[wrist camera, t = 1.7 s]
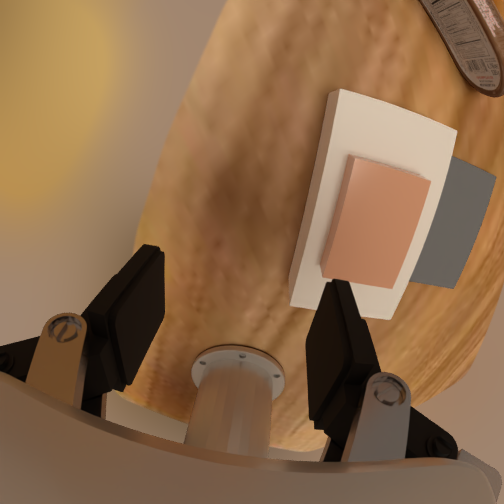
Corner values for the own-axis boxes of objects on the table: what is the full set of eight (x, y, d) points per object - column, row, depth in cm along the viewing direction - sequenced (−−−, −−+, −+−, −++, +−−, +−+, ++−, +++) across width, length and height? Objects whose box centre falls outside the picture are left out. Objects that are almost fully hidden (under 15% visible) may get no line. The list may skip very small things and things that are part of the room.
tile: (385, 276, 23) (392, 289, 22) (319, 264, 23) (322, 277, 22) (419, 175, 19) (431, 181, 17) (348, 153, 19) (355, 158, 17)
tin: (484, 91, 19) (538, 95, 11) (465, 99, 20) (520, 104, 12) (411, -37, 14) (447, -69, 6) (388, -33, 15) (421, -69, 7)
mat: (452, 287, 29) (453, 288, 28) (384, 275, 29) (384, 276, 29) (494, 176, 22) (496, 176, 22) (425, 145, 22) (426, 145, 22)
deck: (377, 290, 30) (390, 319, 25) (288, 275, 30) (289, 305, 25) (429, 125, 22) (457, 130, 17) (328, 93, 22) (340, 88, 17)
